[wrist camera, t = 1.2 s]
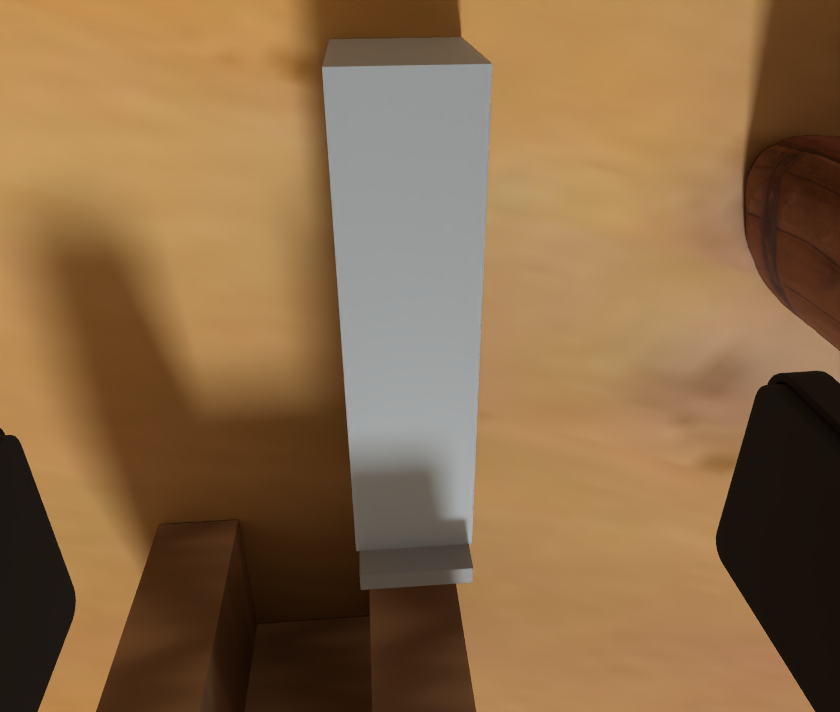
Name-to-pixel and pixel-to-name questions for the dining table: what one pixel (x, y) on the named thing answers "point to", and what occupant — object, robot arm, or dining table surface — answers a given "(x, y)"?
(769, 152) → the wooden figurine
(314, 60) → the dining table surface
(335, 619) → the brown wooden u-shaped block
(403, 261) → the rail
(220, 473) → the dining table surface
